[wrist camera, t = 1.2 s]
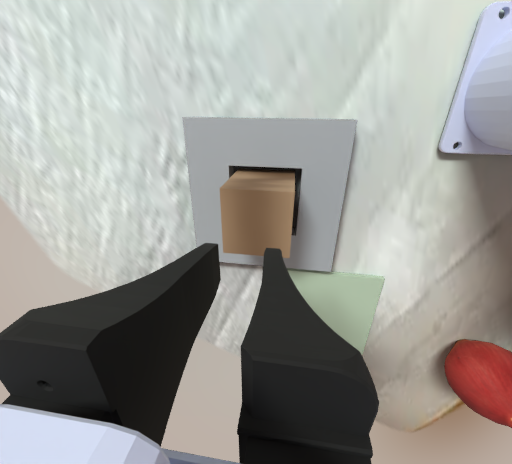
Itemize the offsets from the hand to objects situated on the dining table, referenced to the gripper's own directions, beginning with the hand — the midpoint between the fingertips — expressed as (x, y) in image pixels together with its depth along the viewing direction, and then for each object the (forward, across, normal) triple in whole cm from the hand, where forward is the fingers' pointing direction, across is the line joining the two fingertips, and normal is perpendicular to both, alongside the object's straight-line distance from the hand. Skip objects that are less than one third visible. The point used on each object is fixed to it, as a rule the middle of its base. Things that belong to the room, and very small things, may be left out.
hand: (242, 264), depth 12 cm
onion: (+11, -20, +14) cm, 27 cm away
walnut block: (+10, 0, 0) cm, 10 cm away
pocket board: (+10, 0, 0) cm, 10 cm away
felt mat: (+10, -6, +12) cm, 17 cm away
